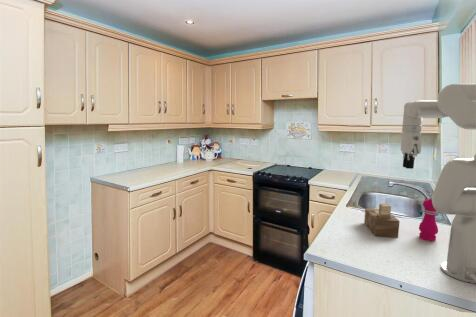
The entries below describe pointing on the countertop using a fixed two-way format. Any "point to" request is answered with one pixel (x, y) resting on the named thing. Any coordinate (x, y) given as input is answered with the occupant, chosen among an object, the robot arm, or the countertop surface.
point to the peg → (384, 211)
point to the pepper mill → (428, 222)
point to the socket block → (381, 224)
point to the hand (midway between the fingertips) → (407, 167)
